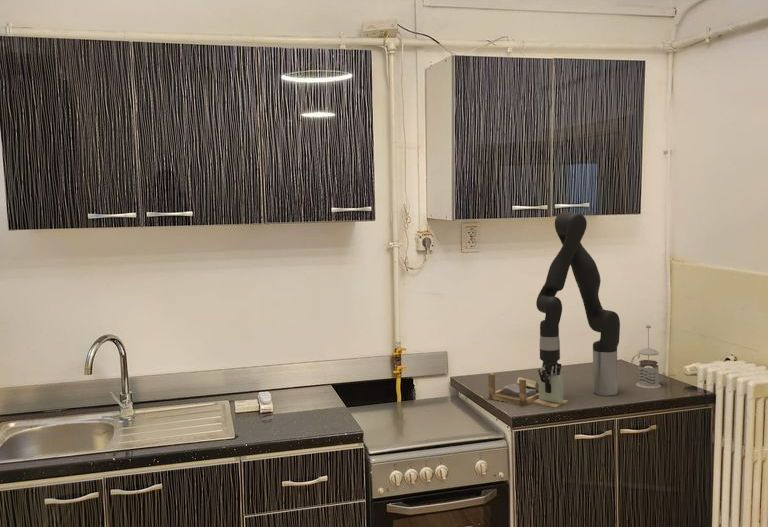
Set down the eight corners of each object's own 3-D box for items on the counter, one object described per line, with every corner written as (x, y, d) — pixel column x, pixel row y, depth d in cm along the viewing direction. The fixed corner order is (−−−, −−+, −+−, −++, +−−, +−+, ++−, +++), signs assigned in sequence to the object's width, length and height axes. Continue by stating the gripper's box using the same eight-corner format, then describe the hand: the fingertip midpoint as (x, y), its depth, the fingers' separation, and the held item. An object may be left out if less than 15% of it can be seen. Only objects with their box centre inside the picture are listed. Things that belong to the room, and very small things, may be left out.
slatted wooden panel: (545, 397, 275) (545, 396, 275) (568, 401, 268) (568, 400, 268) (532, 402, 268) (532, 401, 268) (556, 407, 261) (556, 406, 261)
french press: (657, 389, 279) (657, 328, 277) (628, 385, 286) (627, 325, 284) (664, 384, 287) (664, 323, 285) (635, 380, 294) (635, 321, 292)
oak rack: (514, 388, 289) (513, 364, 288) (548, 395, 278) (548, 370, 277) (488, 398, 276) (488, 374, 275) (523, 406, 265) (523, 380, 264)
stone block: (515, 395, 286) (499, 395, 280) (517, 383, 286) (501, 383, 280) (539, 402, 277) (523, 402, 271) (541, 390, 277) (525, 390, 271)
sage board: (542, 397, 272) (541, 372, 271) (563, 401, 266) (562, 375, 265) (538, 399, 270) (538, 373, 269) (559, 403, 264) (559, 377, 263)
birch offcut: (522, 387, 287) (524, 381, 288) (539, 392, 282) (541, 386, 283) (516, 382, 283) (518, 376, 283) (534, 387, 278) (536, 381, 278)
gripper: (548, 352, 258) (549, 397, 260) (567, 345, 268) (568, 389, 270) (531, 349, 264) (532, 394, 265) (550, 342, 274) (551, 386, 275)
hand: (550, 391), depth 268 cm, fingers closed on sage board, 2 cm apart
